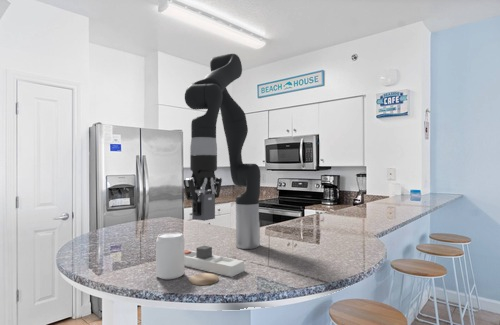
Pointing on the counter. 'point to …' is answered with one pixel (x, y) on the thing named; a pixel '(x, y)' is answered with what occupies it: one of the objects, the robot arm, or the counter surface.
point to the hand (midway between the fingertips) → (203, 214)
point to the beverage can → (170, 255)
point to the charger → (206, 207)
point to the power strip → (212, 262)
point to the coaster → (204, 279)
